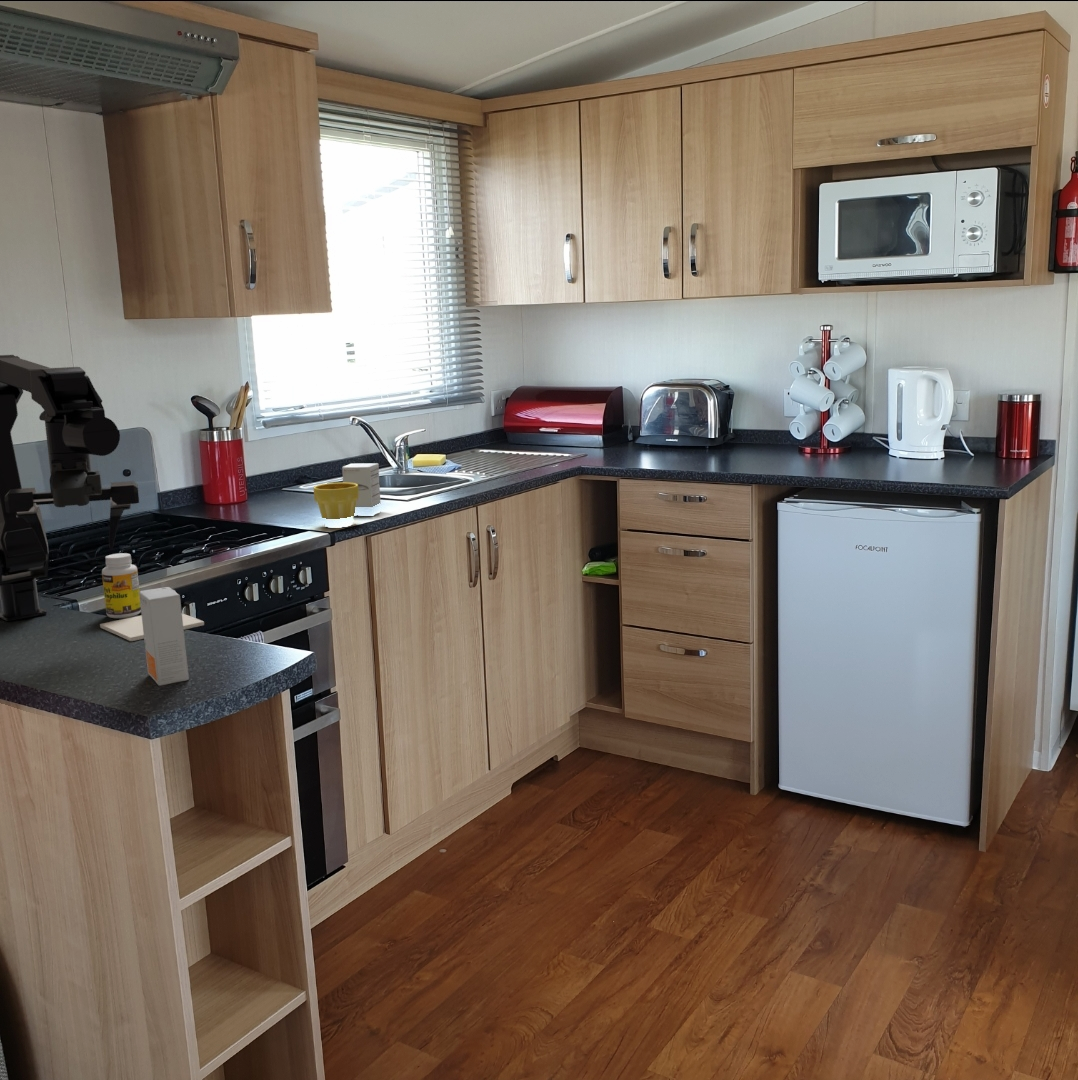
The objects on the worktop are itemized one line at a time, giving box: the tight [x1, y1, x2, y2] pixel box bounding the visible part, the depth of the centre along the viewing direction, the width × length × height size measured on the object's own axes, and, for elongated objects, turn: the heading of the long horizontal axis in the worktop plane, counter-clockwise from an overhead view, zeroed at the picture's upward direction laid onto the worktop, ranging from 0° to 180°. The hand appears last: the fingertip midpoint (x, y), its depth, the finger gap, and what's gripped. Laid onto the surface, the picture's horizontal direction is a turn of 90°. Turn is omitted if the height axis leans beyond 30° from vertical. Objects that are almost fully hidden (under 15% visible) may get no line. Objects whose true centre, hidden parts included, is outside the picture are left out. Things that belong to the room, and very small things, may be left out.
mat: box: [99, 612, 205, 642], centre depth 177 cm, size 12×12×1 cm
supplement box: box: [341, 462, 381, 507], centre depth 275 cm, size 7×7×13 cm
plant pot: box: [313, 481, 359, 519], centre depth 260 cm, size 10×10×10 cm
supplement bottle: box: [101, 552, 141, 619], centre depth 184 cm, size 6×6×10 cm
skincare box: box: [139, 586, 190, 686], centre depth 149 cm, size 6×4×12 cm
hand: (79, 551), depth 170 cm, fingers open, 9 cm apart
